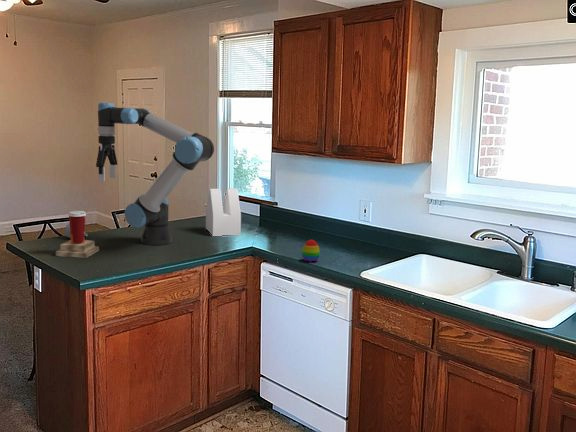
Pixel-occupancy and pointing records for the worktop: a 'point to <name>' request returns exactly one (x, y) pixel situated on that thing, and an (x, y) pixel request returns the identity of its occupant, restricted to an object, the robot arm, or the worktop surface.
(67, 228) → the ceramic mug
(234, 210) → the white slotted block
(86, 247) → the maple pedestal
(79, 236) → the paper cup
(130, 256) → the worktop surface
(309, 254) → the decorative egg
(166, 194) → the robot arm
